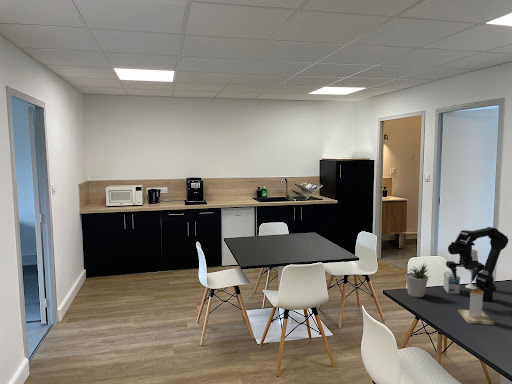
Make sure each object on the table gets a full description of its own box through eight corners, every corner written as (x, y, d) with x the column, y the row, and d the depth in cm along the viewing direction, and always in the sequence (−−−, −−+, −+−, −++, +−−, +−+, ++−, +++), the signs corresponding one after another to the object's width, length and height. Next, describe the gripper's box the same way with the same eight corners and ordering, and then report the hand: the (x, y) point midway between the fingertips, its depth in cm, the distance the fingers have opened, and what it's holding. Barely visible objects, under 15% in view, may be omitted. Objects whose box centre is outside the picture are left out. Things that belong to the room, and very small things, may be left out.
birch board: (482, 313, 205) (482, 310, 205) (494, 324, 192) (494, 321, 191) (458, 312, 207) (458, 309, 207) (468, 323, 193) (468, 320, 193)
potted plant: (419, 300, 223) (421, 266, 221) (400, 293, 235) (401, 261, 233) (433, 297, 230) (435, 263, 228) (413, 290, 241) (415, 258, 240)
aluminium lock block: (470, 313, 202) (472, 288, 201) (481, 315, 199) (483, 290, 198) (468, 316, 198) (470, 291, 197) (480, 318, 195) (481, 293, 194)
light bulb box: (459, 294, 235) (460, 276, 234) (447, 293, 236) (448, 276, 235) (454, 288, 245) (455, 271, 244) (442, 287, 246) (443, 271, 245)
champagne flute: (479, 289, 245) (481, 251, 242) (468, 288, 245) (470, 251, 243) (473, 285, 251) (475, 248, 249) (462, 285, 251) (464, 248, 249)
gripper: (452, 255, 212) (451, 283, 213) (490, 257, 209) (488, 286, 210) (446, 251, 223) (444, 277, 224) (481, 252, 220) (479, 279, 221)
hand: (464, 280), depth 220 cm, fingers open, 9 cm apart
